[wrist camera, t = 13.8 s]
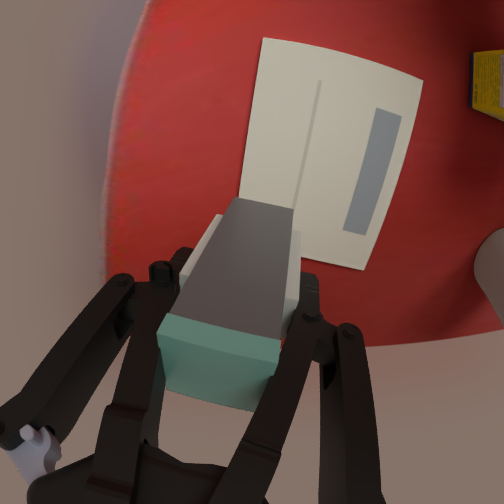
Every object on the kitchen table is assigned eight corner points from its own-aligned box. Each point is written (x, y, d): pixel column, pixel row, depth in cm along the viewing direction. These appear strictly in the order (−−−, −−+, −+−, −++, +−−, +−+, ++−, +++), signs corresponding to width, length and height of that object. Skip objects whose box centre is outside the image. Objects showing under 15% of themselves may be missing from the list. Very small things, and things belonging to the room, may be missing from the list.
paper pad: (264, 38, 19) (263, 37, 18) (420, 80, 18) (423, 80, 18) (233, 239, 30) (232, 242, 29) (362, 267, 29) (363, 271, 28)
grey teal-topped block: (233, 195, 19) (156, 333, 9) (294, 208, 19) (278, 363, 9) (227, 247, 21) (166, 389, 11) (282, 259, 21) (257, 412, 11)
